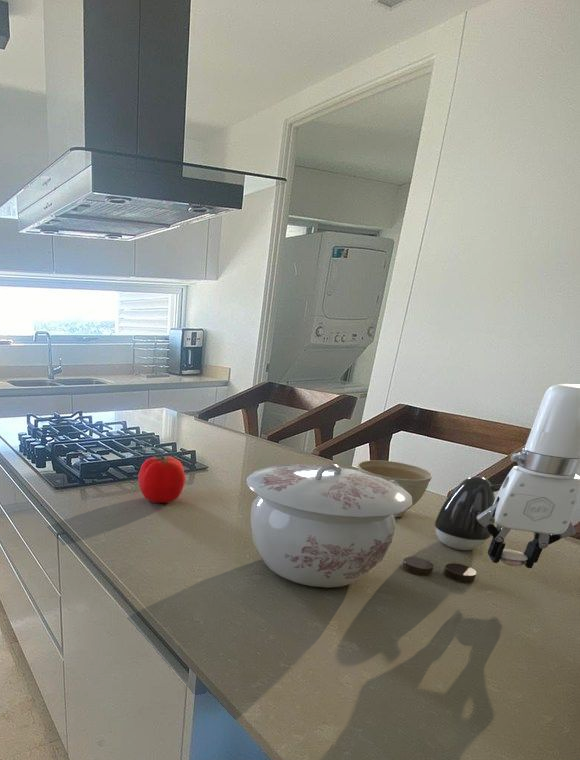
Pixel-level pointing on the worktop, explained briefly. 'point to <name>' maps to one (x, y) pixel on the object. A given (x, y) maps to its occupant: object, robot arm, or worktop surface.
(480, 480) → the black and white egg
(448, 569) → the middle disc
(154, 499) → the tomato
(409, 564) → the far disc
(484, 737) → the worktop surface
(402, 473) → the planter bowl
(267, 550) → the chamber pot
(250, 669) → the worktop surface
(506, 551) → the macaroon
